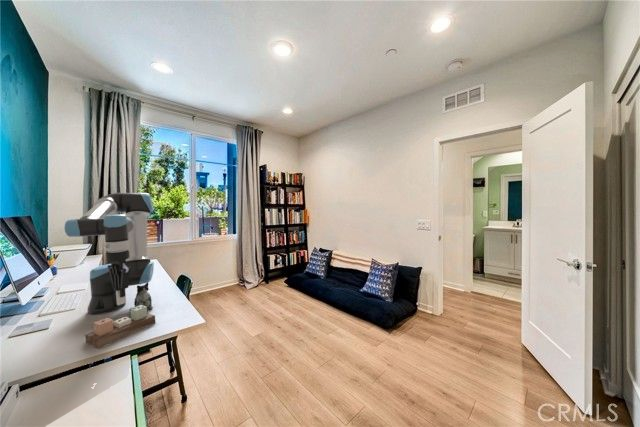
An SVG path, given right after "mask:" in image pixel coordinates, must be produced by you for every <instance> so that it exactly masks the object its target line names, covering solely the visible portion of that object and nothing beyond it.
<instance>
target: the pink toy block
mask: <svg viewBox="0 0 640 427" xmlns="http://www.w3.org/2000/svg"><path fill="white" fill-rule="evenodd" d="M113 323H114V320H113V319H112V318H109V317H105V318H102V319H100V320H97V321H95V322H93V329H94V330H93V331H94V334H95V335H97V336H99V337H100V336H102V335H104V334H107V333H109V332H111V331H113Z"/></svg>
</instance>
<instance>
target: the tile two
mask: <svg viewBox="0 0 640 427" xmlns="http://www.w3.org/2000/svg"><path fill="white" fill-rule="evenodd" d="M128 317H129V316H124V317H121V318H119V319H116V320H113V323H114V326H115V327H117V328H121V327H123V326H125V325H128V324H130V323H131V318H128Z"/></svg>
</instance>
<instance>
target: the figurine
mask: <svg viewBox="0 0 640 427" xmlns="http://www.w3.org/2000/svg"><path fill="white" fill-rule="evenodd" d="M149 290H150V289H149V282H148V283H144V284H142V285H140V284H139V285H136V292H137V293H136V294H135V298H134V303H133V304H134V307H137V306H140V305H143V306H146V307H147V311H150V310H153V306H152V305H153V304H152V302H153V301H152V296H151V294H150V293H149V292H148V291H149ZM132 308H133V307H131V308H130V309H132ZM130 309H129V312H131V310H130Z"/></svg>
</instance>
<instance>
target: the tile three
mask: <svg viewBox="0 0 640 427" xmlns="http://www.w3.org/2000/svg"><path fill="white" fill-rule="evenodd" d="M131 308H132V309H129V311H130V310H131V311H130V316H131V319H132V320H135V321H137V320H140V319H142V318H144V317H147V313H148V310H147V307H146V306H143V305H140V306H137V307H135V306H134V307H131Z"/></svg>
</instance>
